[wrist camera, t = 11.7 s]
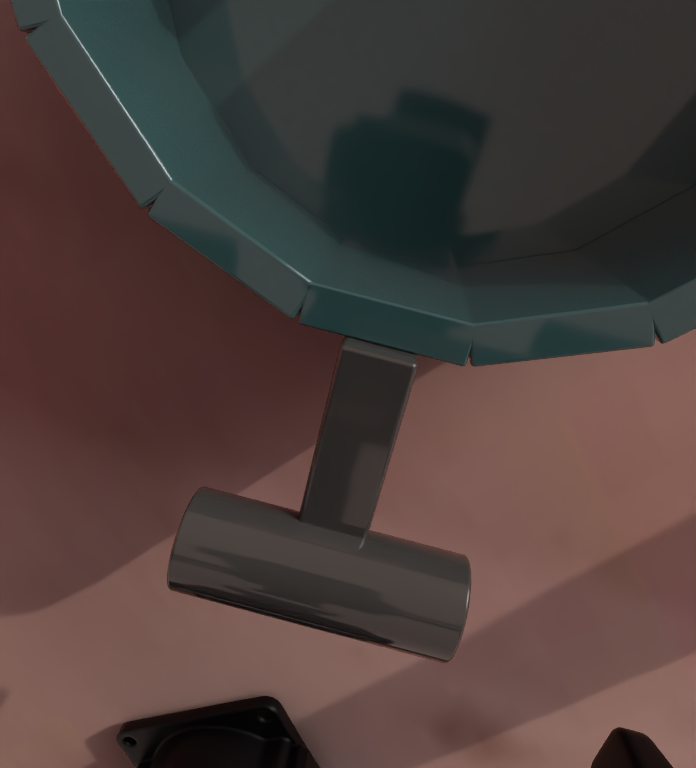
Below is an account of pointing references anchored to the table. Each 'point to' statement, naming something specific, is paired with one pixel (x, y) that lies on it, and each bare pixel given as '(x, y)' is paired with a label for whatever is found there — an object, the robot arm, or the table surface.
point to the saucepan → (394, 230)
